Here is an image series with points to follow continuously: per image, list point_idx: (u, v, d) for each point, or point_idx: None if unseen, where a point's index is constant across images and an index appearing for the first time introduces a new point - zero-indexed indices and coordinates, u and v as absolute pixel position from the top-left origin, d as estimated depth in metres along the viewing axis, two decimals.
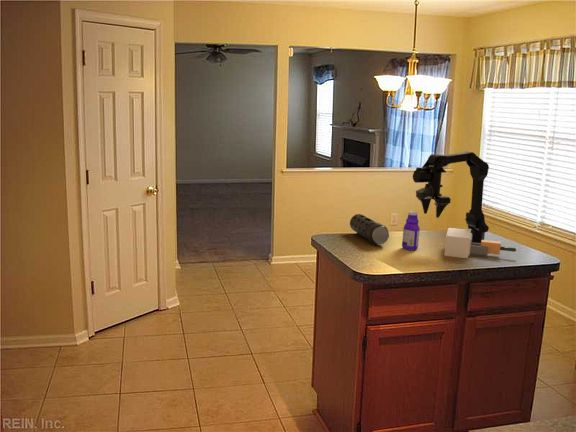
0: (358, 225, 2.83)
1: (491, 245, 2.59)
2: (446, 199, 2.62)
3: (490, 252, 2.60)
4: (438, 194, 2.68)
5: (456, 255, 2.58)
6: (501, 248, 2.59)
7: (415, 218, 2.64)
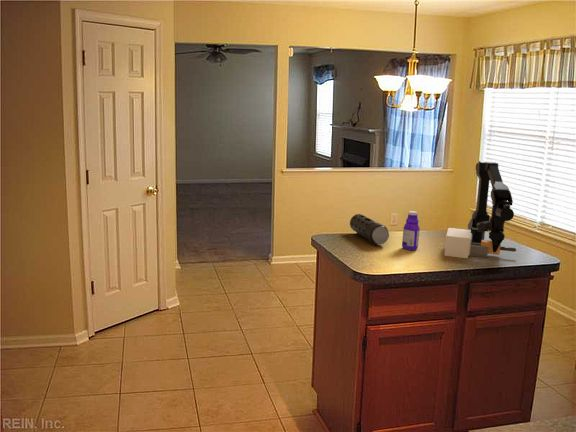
0: (358, 225, 2.83)
1: (491, 245, 2.59)
2: (497, 235, 2.50)
3: (490, 252, 2.60)
4: (499, 229, 2.56)
5: (456, 255, 2.58)
6: (501, 248, 2.59)
7: (415, 218, 2.64)
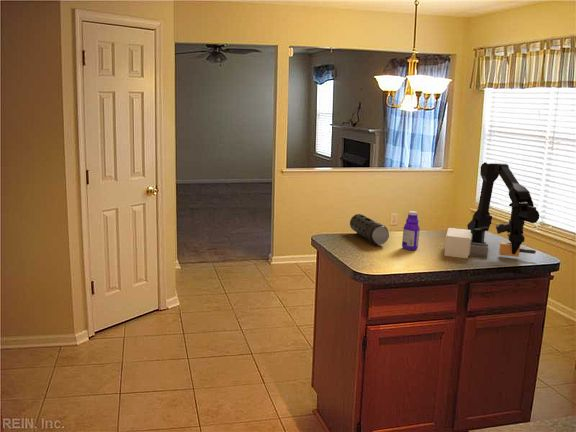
0: (358, 225, 2.83)
1: (511, 247, 2.57)
2: (517, 237, 2.48)
3: (509, 254, 2.57)
4: (518, 231, 2.54)
5: (456, 255, 2.58)
6: (520, 250, 2.57)
7: (415, 218, 2.64)
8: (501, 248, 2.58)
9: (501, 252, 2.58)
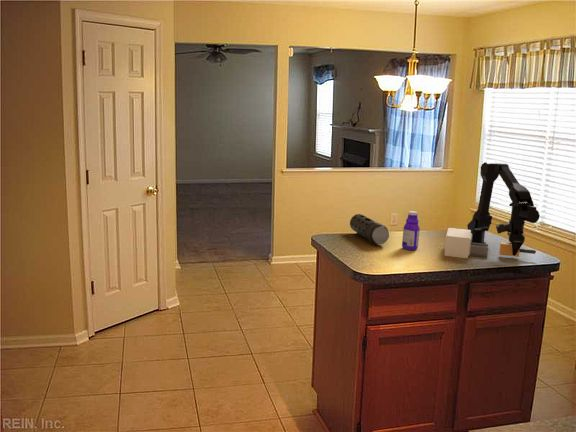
0: (358, 225, 2.83)
1: (511, 247, 2.57)
2: (518, 237, 2.48)
3: (509, 254, 2.57)
4: (518, 231, 2.54)
5: (456, 255, 2.58)
6: (520, 250, 2.57)
7: (415, 218, 2.64)
8: (501, 248, 2.58)
9: (501, 252, 2.58)
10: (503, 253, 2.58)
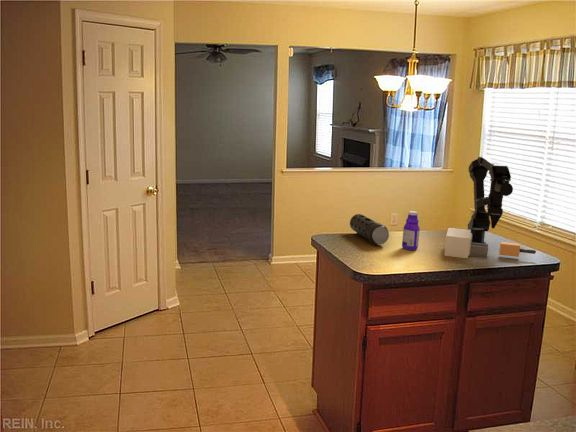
0: (358, 225, 2.83)
1: (511, 247, 2.57)
2: (496, 209, 2.56)
3: (509, 254, 2.57)
4: (497, 205, 2.62)
5: (456, 255, 2.58)
6: (520, 250, 2.57)
7: (415, 218, 2.64)
8: (501, 248, 2.58)
9: (501, 252, 2.58)
10: (503, 253, 2.58)
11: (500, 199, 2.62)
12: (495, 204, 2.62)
